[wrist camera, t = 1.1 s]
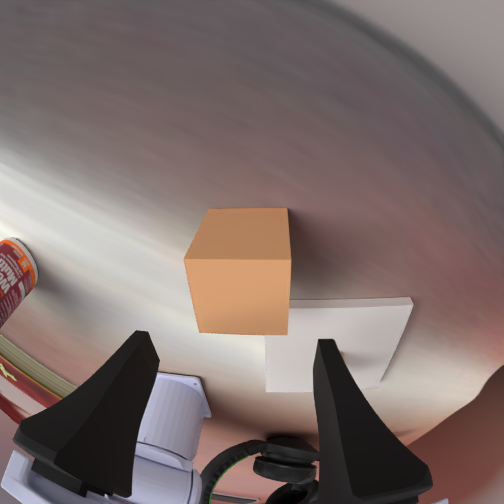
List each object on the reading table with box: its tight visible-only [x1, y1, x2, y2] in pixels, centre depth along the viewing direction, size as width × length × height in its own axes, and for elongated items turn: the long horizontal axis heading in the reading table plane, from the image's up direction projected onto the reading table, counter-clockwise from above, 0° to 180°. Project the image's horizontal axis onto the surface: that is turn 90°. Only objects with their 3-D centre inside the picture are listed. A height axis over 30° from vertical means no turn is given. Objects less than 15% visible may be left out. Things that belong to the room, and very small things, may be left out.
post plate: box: [265, 297, 414, 392], centre depth 23 cm, size 12×12×4 cm
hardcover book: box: [0, 334, 78, 408], centre depth 35 cm, size 12×21×4 cm, turn 59°
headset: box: [199, 437, 320, 504], centre depth 30 cm, size 18×14×29 cm
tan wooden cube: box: [184, 208, 291, 335], centre depth 17 cm, size 5×5×6 cm
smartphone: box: [211, 492, 259, 504], centre depth 72 cm, size 13×27×2 cm, turn 70°
